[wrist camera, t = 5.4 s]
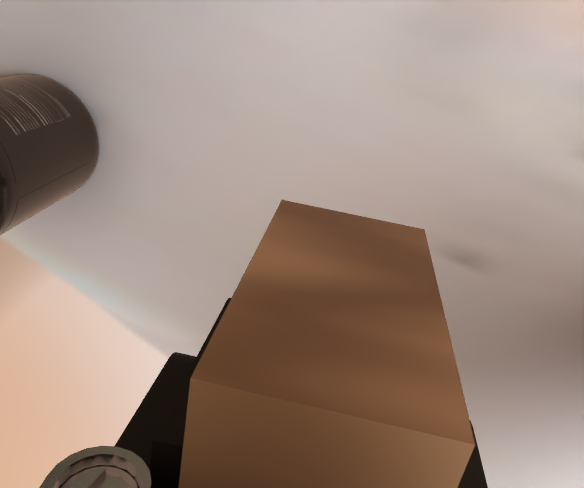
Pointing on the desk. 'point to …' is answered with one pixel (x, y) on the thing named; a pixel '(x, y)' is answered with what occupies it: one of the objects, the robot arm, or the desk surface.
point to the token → (329, 365)
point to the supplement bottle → (41, 146)
